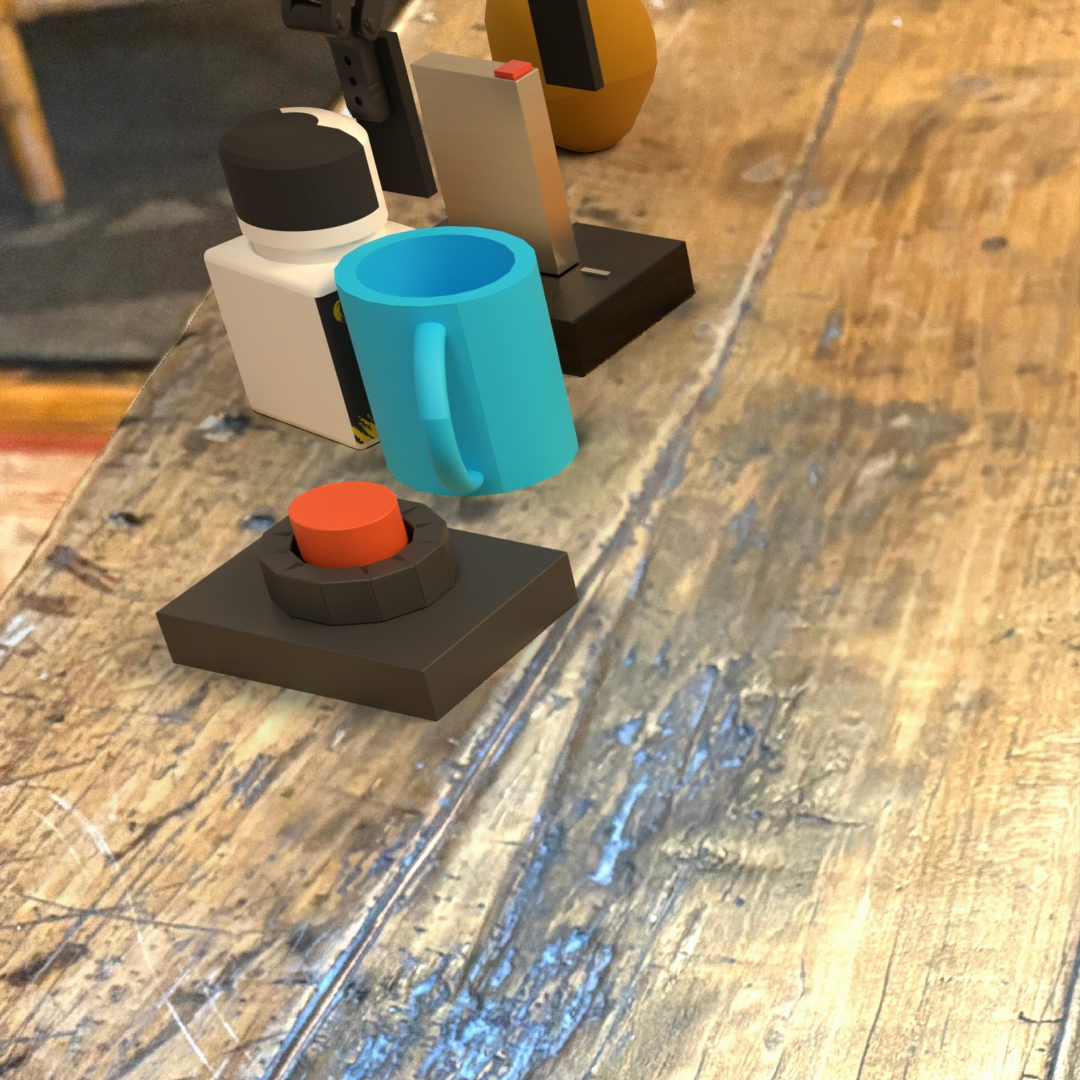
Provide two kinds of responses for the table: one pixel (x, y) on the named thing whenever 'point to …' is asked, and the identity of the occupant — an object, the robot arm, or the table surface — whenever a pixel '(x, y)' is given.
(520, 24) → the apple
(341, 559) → the button
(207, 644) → the button box
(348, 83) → the robot arm
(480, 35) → the table surface
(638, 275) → the dial panel
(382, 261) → the mug
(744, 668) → the table surface
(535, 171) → the tilted slab handle
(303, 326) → the medicine bottle
